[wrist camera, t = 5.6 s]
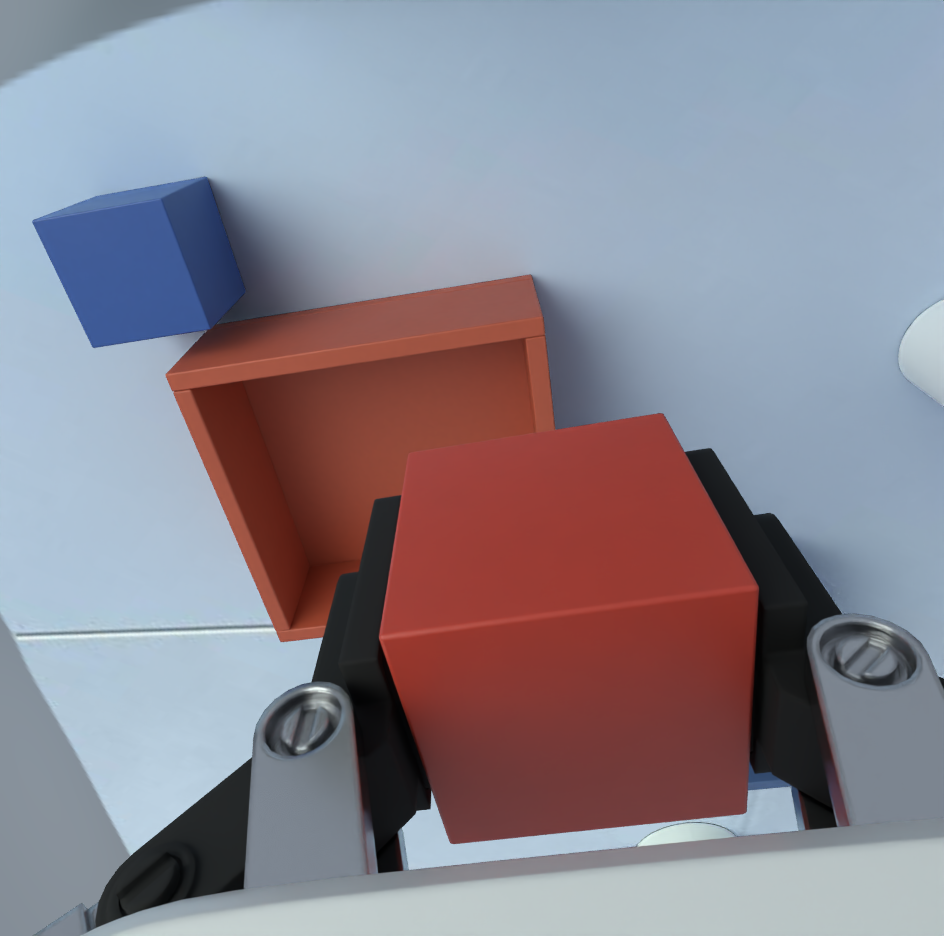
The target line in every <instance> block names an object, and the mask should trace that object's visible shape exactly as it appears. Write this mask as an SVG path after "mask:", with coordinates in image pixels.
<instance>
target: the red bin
mask: <svg viewBox="0 0 944 936" xmlns="http://www.w3.org/2000/svg"><path fill="white" fill-rule="evenodd" d="M166 378H167V380H168V383H169V385H170V387H171V390H172V391H174V396H175V398H176V401H177V403H178V405H179V408H180V410H181V412H182V415H183V417H184V419H185V422H186V424H187V426H188V429H189V431H190V433H191V436H192V438H193V440H194V442H195V445H196V447H197V449H198V452H199V454H200V456H201V459H202V461H203V463H204V466H205V468H206V470H207V473H208V475H209V477H210V480H211V482H212V484H213V487H214V489H215V491H216V494H217V496H218V498H219V500H220V503H221V505H222V507H223V510H224V512H225V514H226V517H227V519H228V521H229V524H230V526H231V528H232V531H233V533H234V535H235V538H236V540H237V542H238V545H239V547H240V549H241V551H242V554H243V556H244V558H245V561H246V563H247V565H248V568H249V570H250V572H251V575H252V577H253V579H254V582H255V584H256V586H257V589H258V591H259V593H260V596H261V598H262V600H263V602H264V605H265V607H266V609H267V612H268V614H269V616H270V619H271V621H272V623H273V626H274V628H275V630H276V631H277V635H278V637H279V640H280V642H288V641H296V640H304V639H313V638H321V637H323V636H324V632H325V628H326V624H327V620H328V616H329V612H330V609H331V605H332V601H333V597H334V593H335V589H336V585H337V582H338V579H339V577H340V576H341V575H342V574H345V573H352V572H358V571H359V567H360V562H361V558H362V553H363V549H364V544H365V540H366V535H367V531H368V526H369V522H370V517H371V512H372V508H373V503H374V501H375V499H379V498H385V497H392V496H399V495H402V490H403V483H404V477H405V471H406V465H407V458H408V454H409V453H411V452H417V451H424V450H430V449H436V448H443V447H449V446H455V445H462V444H468V443H474V442H481V441H487V440H493V439H500V438H506V437H512V436H519V435H525V434H531V433H538V432H544V431H550V430H555V421H554V412H553V402H552V393H551V383H550V374H549V364H548V355H547V345H546V337H545V327H544V317H543V314H542V310H541V307H540V304H539V300H538V297H537V293H536V290H535V286H534V283H533V279H532V276H531V275H525V276H519V277H513V278H506V279H500V280H494V281H487V282H481V283H475V284H468V285H462V286H456V287H450V288H443V289H437V290H431V291H424V292H418V293H412V294H406V295H399V296H393V297H387V298H380V299H374V300H368V301H362V302H355V303H349V304H343V305H336V306H330V307H324V308H317V309H311V310H305V311H299V312H292V313H286V314H280V315H273V316H267V317H261V318H255V319H248V320H242V321H236V322H229V323H223V324H217V325H214V326H213V327H212V328H211V329H210V330H208V331H206V332H205V333H204V334H203V335H202V337H201V338H200V339H199V340H198V341H197V342H196V343H195V344H194V345H193V346H192V347H191V348H190V349H189V350H188V351H187V352H186V353H185V354H184V356H183V357H182V358H181V359H180V360H179V361H178V362H177V363H176V364H175V365H174V366H173V367H172V368H171V369H170V370H169V371H168V372H167V373H166Z"/></svg>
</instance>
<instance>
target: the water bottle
mask: <svg viewBox="0 0 944 936" xmlns="http://www.w3.org/2000/svg"><path fill="white" fill-rule="evenodd" d="M729 837H736V836H735V835H734V834H733V833H731V832H730V831H728V830H727V829H725V828H722V827H720V826H716V825H712V824H705V823H685V824H678V825H674V826H670V827H666V828H663V829H661V830H658V831H656V832H654V833H652V834H650V835H649V836H647V837H646V838H645V839H643V840H642V841H641V842H640V843H639V844H638V846H648V845H658V844H668V843H678V842H688V841H699V840H709V839H719V838H729ZM638 846H637V847H638Z"/></svg>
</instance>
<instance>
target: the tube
mask: <svg viewBox="0 0 944 936" xmlns="http://www.w3.org/2000/svg"><path fill="white" fill-rule="evenodd" d="M898 362H899V367H900V370H901V372H902V374H903V375H904V377H905V378H906V379H907V380H908V381H910V382H911V383H912V384H913V385H915V386H916V387H917V388H919V389H920V390H921V391H923V392H924V393H926V394H927V395H928V396H930V397H931V398H932V399H934V400H935V401H936V402H938V403H939V404H940V405H942V406H943V407H944V299H943V300H941V301H939V302H937V303H935V304H934V305H932V306H931V307H929V308H928V309H926V310H925V311H924V312H923V313H922V314H921V315H920V316H918V317H917V318H916V319H915V320H914V322H913V323H912V324H911V326H910V327H909V328H908V330H907V331H906V333H905V335H904V337H903V339H902V341H901V344H900V347H899V354H898Z"/></svg>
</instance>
